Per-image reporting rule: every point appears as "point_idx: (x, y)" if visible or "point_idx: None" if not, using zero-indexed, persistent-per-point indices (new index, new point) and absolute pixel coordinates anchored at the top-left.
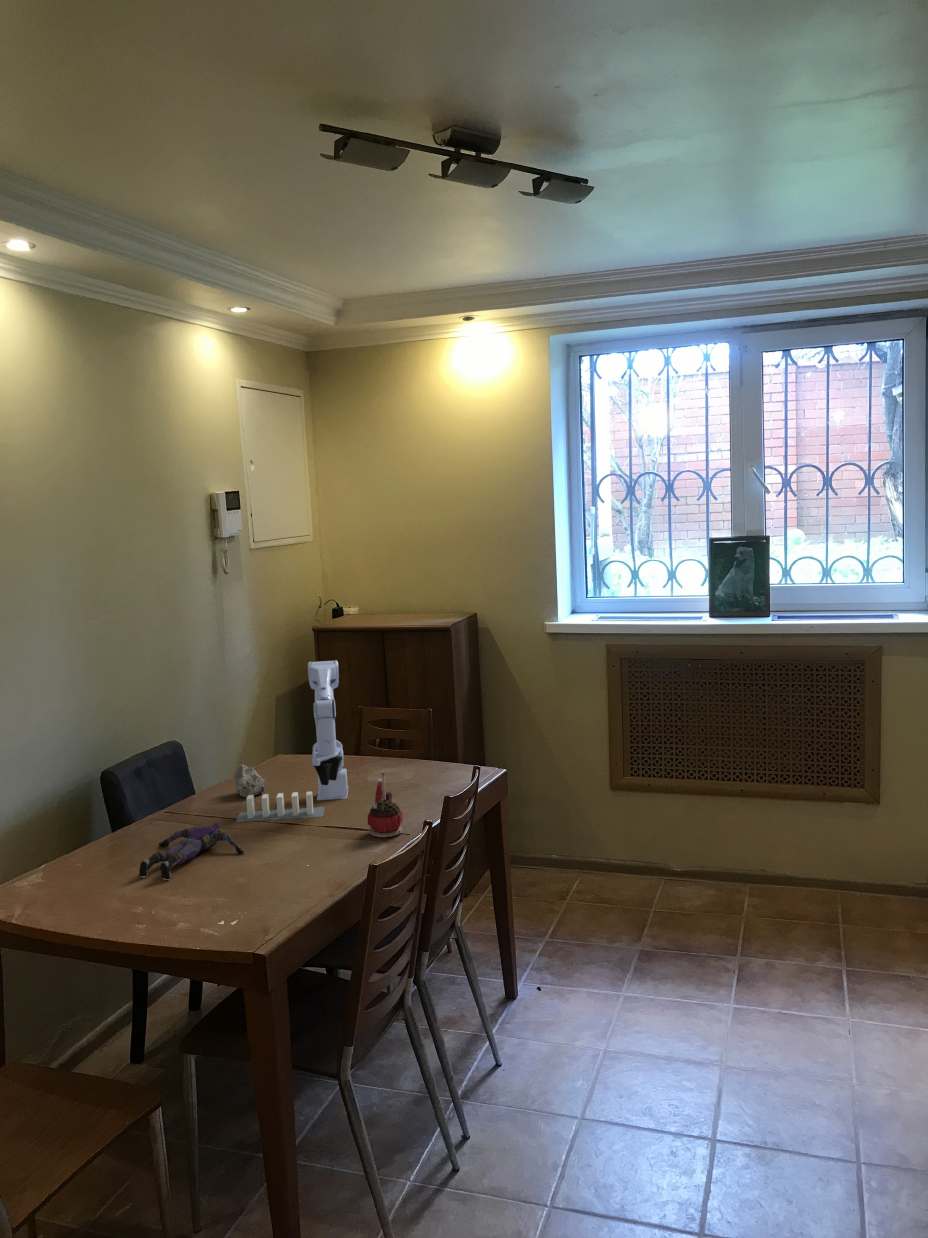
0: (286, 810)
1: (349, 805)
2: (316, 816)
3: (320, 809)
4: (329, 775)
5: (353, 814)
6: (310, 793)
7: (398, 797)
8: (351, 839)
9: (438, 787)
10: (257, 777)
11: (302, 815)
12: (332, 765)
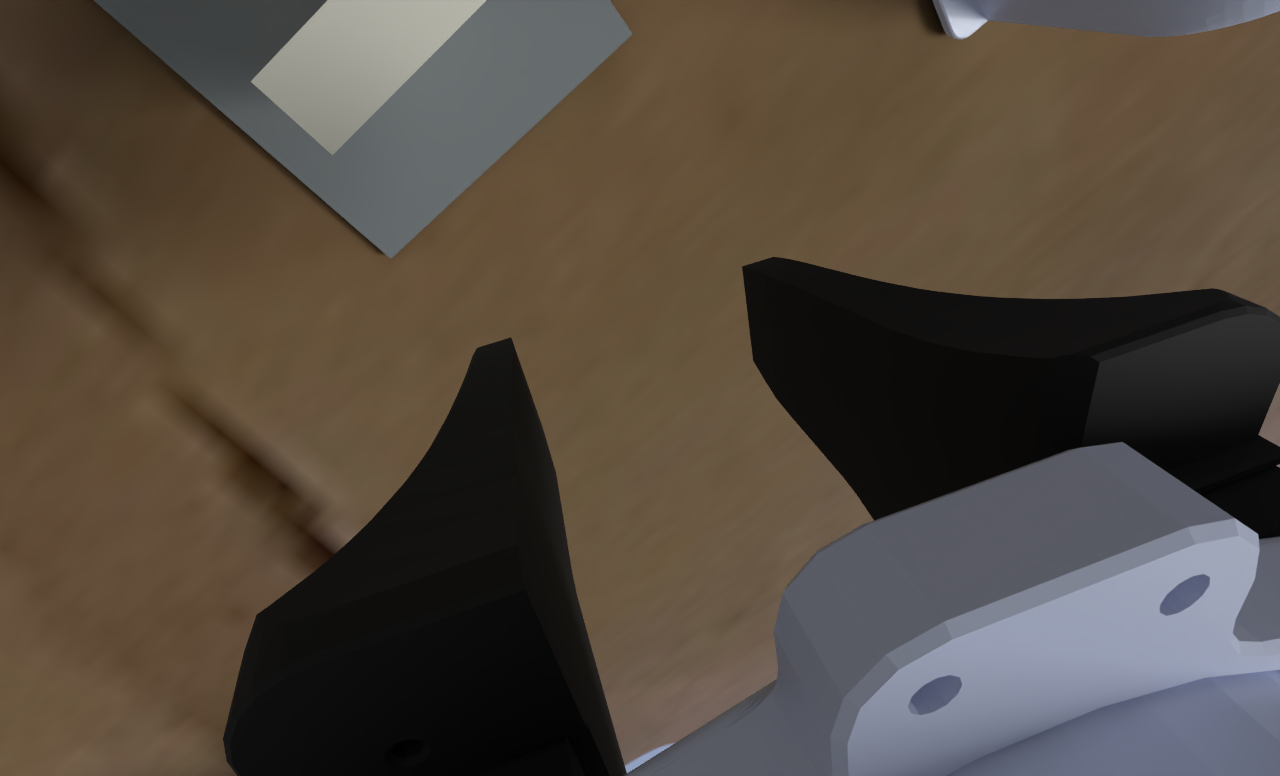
0: None
1: (794, 209)
2: (341, 199)
3: (539, 54)
4: (783, 302)
5: (616, 408)
6: (389, 64)
7: None
8: (213, 748)
9: None
10: None
11: (235, 6)
12: (908, 477)
